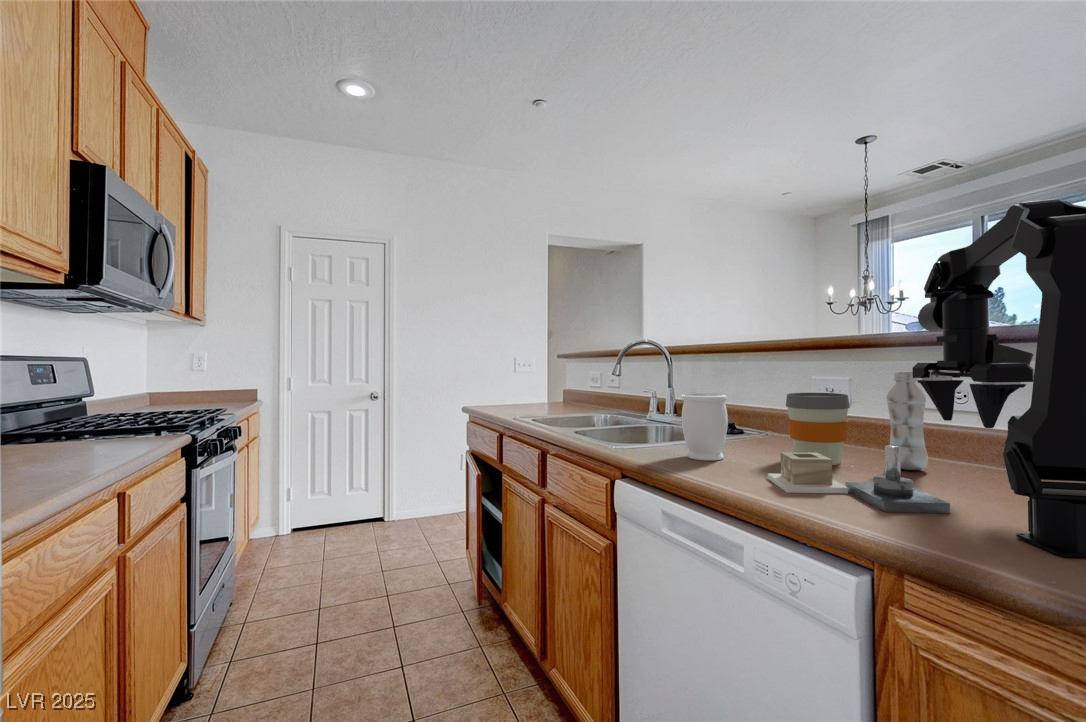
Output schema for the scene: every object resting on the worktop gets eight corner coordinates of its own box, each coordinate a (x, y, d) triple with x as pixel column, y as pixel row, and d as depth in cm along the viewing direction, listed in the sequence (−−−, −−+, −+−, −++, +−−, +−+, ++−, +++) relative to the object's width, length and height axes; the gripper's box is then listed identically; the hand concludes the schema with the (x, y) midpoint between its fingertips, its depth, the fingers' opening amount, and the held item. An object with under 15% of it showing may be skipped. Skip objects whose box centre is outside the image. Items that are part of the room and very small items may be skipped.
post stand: (950, 513, 72) (948, 454, 72) (884, 511, 73) (883, 453, 73) (901, 491, 84) (900, 440, 84) (845, 490, 85) (844, 440, 85)
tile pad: (848, 493, 83) (848, 487, 83) (786, 492, 84) (786, 486, 84) (822, 479, 93) (822, 473, 93) (767, 478, 94) (767, 473, 94)
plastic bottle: (912, 474, 95) (910, 372, 95) (879, 467, 101) (877, 372, 101) (936, 471, 97) (934, 371, 96) (903, 464, 103) (901, 371, 103)
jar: (673, 455, 119) (672, 394, 118) (709, 452, 122) (708, 392, 122) (700, 463, 108) (698, 397, 108) (738, 460, 111) (737, 395, 111)
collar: (832, 485, 85) (831, 459, 85) (793, 484, 86) (793, 459, 86) (816, 476, 91) (816, 452, 91) (781, 475, 92) (780, 452, 92)
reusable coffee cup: (774, 458, 113) (773, 394, 113) (815, 453, 117) (814, 391, 117) (820, 469, 101) (819, 397, 101) (865, 464, 105) (863, 395, 105)
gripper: (1075, 323, 69) (1077, 432, 69) (977, 331, 88) (978, 417, 88) (988, 326, 71) (990, 432, 71) (909, 332, 89) (911, 417, 89)
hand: (967, 424), depth 79 cm, fingers open, 9 cm apart
